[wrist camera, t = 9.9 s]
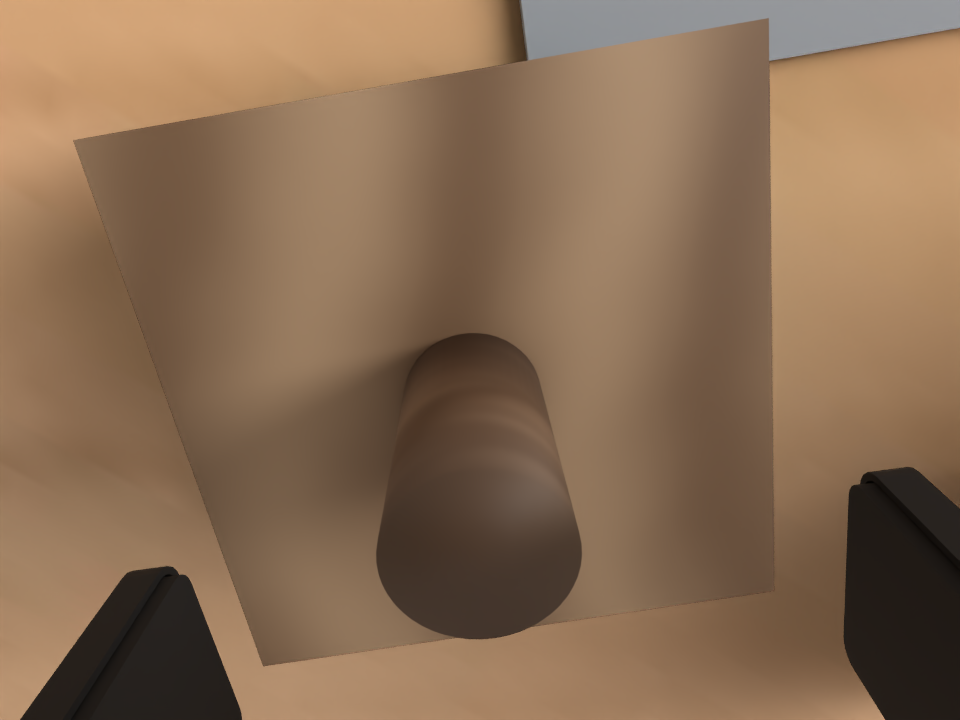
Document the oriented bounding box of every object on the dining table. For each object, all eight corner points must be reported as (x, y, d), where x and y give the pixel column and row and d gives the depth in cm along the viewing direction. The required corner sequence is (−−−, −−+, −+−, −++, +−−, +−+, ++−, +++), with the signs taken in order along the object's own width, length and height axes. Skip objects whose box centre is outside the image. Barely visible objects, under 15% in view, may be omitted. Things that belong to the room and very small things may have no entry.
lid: (749, 21, 15) (980, -25, 8) (759, 567, 20) (906, 805, 13) (97, 136, 15) (-177, 178, 9) (272, 639, 20) (183, 903, 14)
